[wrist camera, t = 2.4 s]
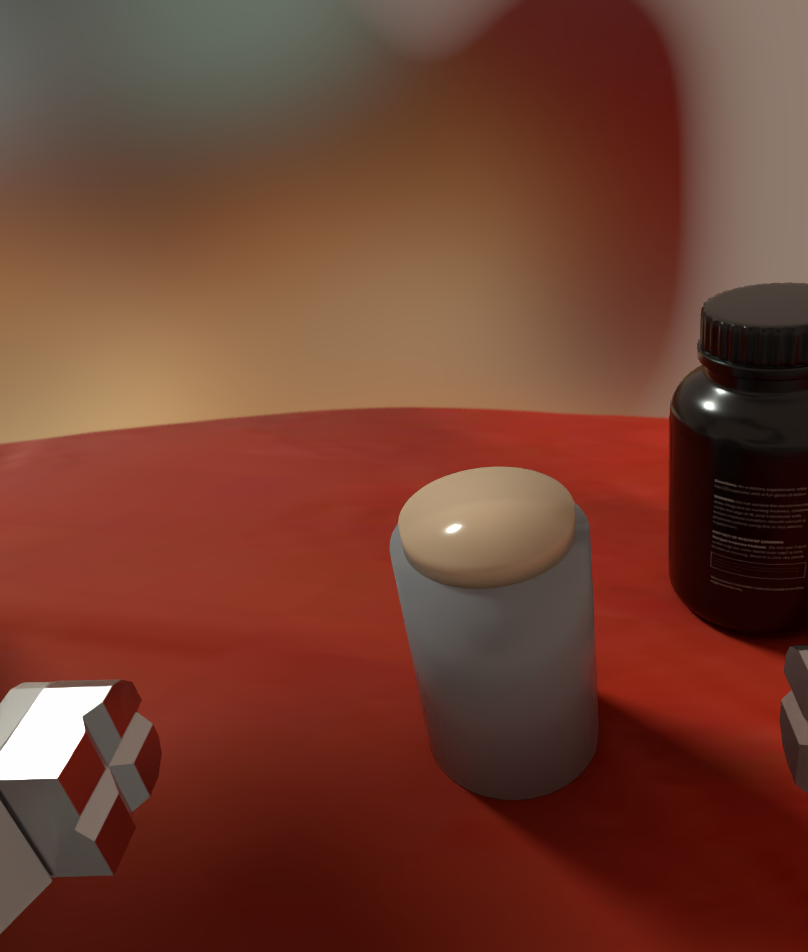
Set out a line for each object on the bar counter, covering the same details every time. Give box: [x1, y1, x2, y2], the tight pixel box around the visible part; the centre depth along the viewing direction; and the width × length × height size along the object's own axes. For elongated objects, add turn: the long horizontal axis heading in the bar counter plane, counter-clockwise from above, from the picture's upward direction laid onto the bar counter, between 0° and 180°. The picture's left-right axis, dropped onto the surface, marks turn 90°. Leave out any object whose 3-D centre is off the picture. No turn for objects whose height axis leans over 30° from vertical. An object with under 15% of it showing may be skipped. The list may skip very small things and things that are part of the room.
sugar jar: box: [390, 467, 599, 800], centre depth 25 cm, size 6×6×9 cm
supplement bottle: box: [668, 283, 808, 636], centre depth 29 cm, size 7×7×12 cm
